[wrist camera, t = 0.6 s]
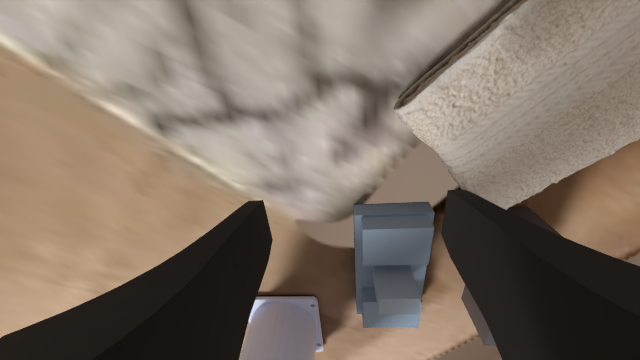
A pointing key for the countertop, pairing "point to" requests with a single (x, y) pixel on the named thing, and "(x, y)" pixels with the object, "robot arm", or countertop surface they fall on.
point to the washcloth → (532, 96)
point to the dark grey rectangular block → (467, 297)
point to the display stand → (391, 262)
